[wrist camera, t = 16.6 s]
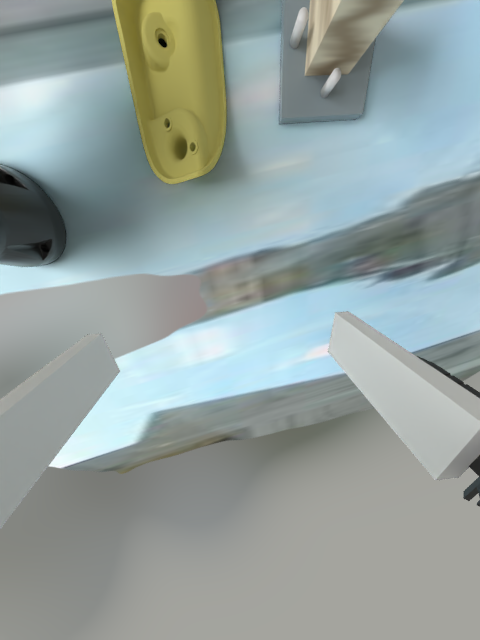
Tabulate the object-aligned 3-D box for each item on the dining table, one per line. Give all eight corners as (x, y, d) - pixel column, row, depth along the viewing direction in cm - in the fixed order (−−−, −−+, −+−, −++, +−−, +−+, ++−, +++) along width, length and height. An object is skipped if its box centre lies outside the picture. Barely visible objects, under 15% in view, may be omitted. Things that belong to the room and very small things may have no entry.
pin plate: (279, 124, 27) (287, 105, 23) (282, -40, 21) (295, -104, 17) (356, 119, 28) (378, 99, 24) (382, -44, 21) (418, -108, 17)
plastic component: (105, -26, 20) (176, -103, 16) (157, 38, 26) (218, -5, 22) (152, 190, 27) (209, 174, 23) (184, 199, 33) (233, 188, 29)
